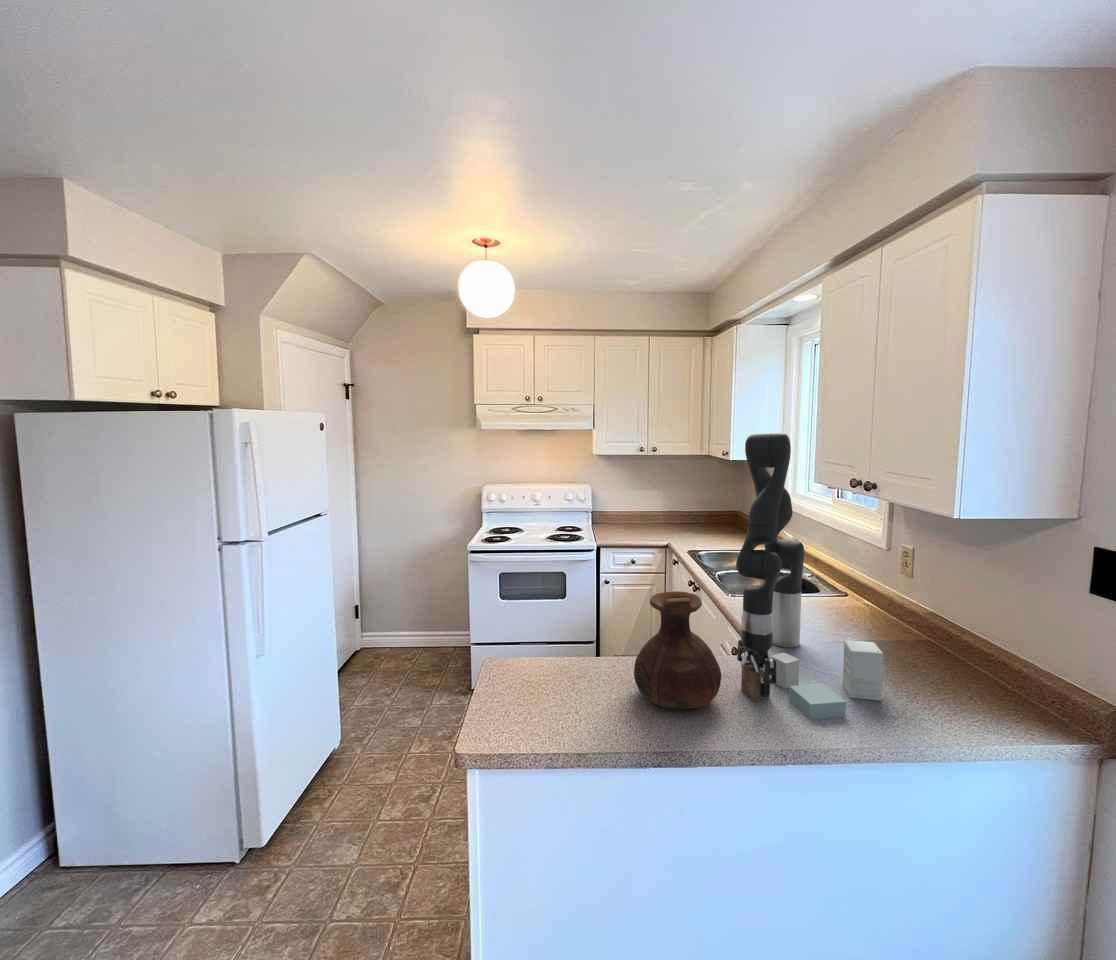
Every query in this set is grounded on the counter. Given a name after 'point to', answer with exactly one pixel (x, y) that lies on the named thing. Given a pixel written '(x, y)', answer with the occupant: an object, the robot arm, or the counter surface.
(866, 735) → the counter surface
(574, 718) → the counter surface
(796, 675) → the grey block
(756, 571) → the robot arm
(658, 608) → the brown vase
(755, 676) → the walnut block
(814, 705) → the pedestal block
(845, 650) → the supplement box
